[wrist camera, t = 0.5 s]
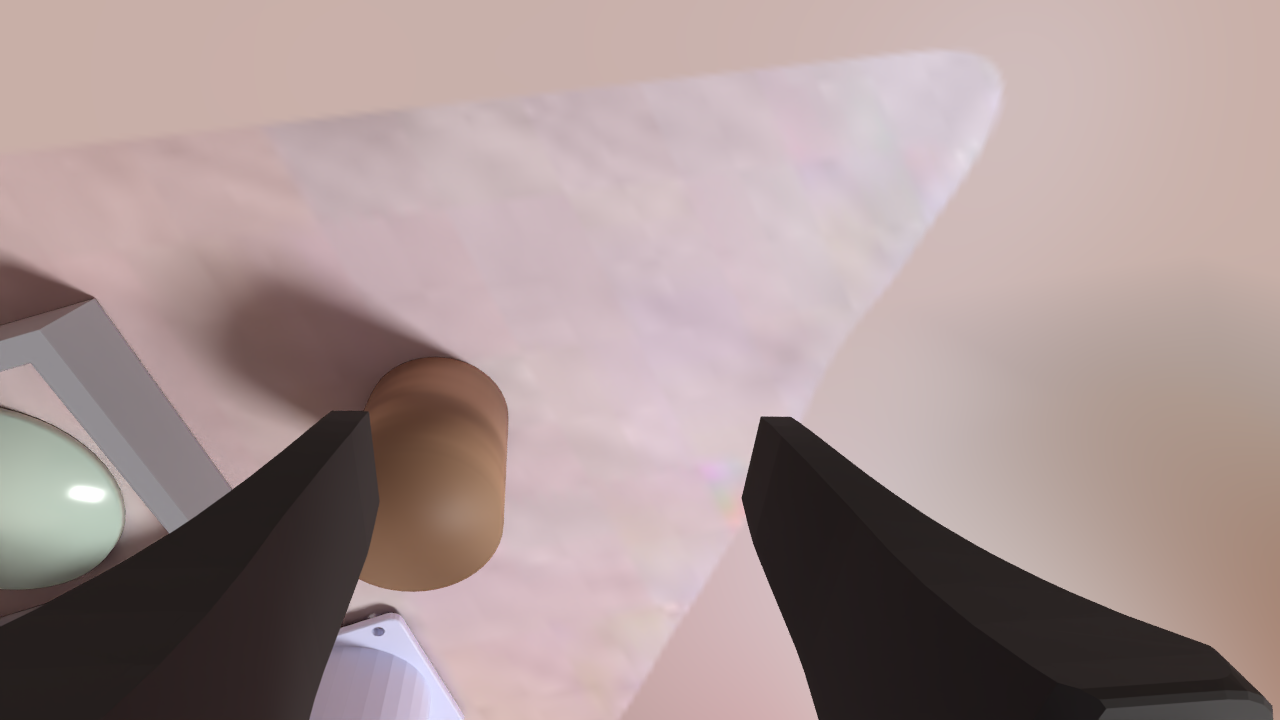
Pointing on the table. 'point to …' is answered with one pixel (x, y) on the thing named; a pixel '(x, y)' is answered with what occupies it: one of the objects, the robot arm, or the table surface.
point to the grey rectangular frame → (116, 409)
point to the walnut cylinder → (436, 474)
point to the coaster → (52, 505)
